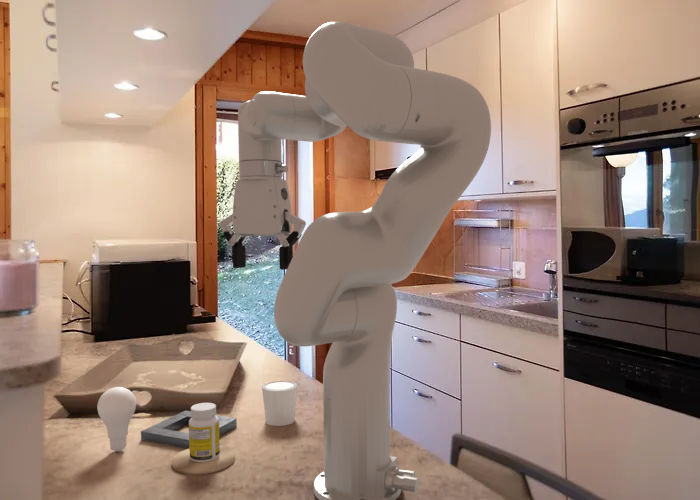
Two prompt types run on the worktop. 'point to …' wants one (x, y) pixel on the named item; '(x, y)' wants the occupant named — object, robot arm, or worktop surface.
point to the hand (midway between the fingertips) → (262, 268)
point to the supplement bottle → (204, 433)
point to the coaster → (187, 466)
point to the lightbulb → (117, 414)
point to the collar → (169, 436)
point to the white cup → (279, 402)
